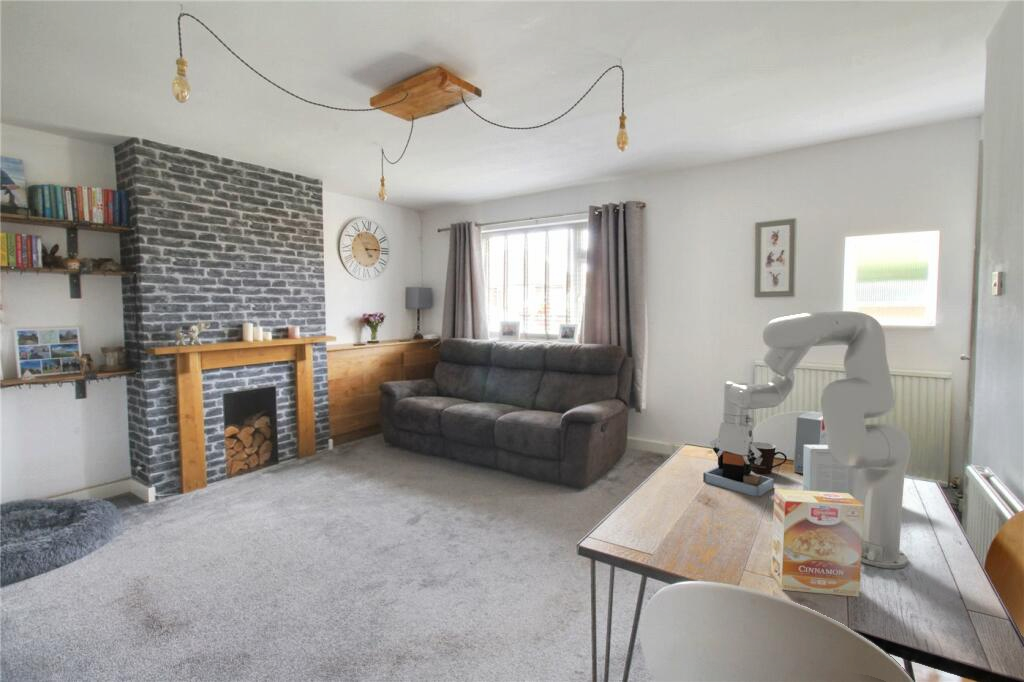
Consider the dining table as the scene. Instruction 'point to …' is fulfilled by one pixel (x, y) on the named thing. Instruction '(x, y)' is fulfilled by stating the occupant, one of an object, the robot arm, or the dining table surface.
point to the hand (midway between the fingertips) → (733, 471)
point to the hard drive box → (808, 435)
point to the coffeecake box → (817, 542)
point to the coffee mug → (765, 458)
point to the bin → (737, 483)
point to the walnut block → (753, 479)
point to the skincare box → (824, 471)
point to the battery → (733, 466)
